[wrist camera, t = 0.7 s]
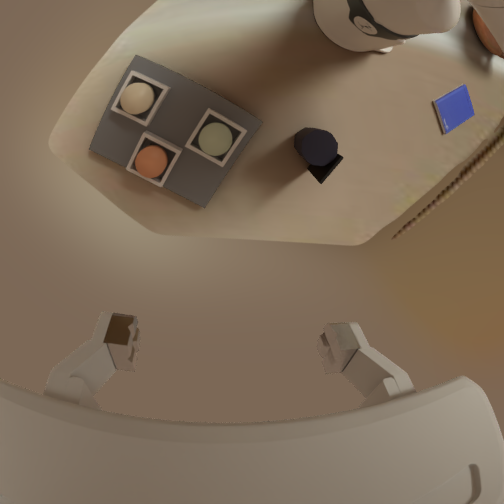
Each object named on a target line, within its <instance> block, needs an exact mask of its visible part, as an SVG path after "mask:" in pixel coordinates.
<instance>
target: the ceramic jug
mask: <svg viewBox="0 0 504 504" xmlns="http://www.w3.org/2000/svg"><path fill="white" fill-rule="evenodd" d="M473 23H474V27H475V30H476V32H477V34H478V36H479V38H480V40H481V42H482V43H483V45H484V46H485V47H486V48H487V49H488V50H489V51H490V52H491V53H493V54H495V55H498V56H499V57H501V58H503V59H504V52H503V51H502V50H501V48H500V46H499V45H498V43H497V41H496V40H495V38H494V36H493V35H492V33H491V32H490V30H489V29H488V27H487V26H486V24H485V23H484V21H483V20H482V18H481V17H480V16H479V14H478V13H477V12H476V10H475V9H474V10H473Z"/></svg>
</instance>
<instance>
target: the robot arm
mask: <svg viewBox="0 0 504 504" xmlns="http://www.w3.org/2000/svg"><path fill="white" fill-rule="evenodd" d="M468 1H469V2H470V4H471V5H472V6H473V8H474V9H475V10H476V12H477V13H478V14H479V16H480V17H481V18H482V20H483V21H484V23H485V24H486V26H487V27H488V29H489V30H490V32H491V33H492V35H493V36H494V38H495V40H496V41H497V43H498V45H499V46H500V48H501V50H502V51H503V52H504V0H468ZM313 7H314V16H315V19H316V21H317V24H318V25H319V27H320V29H321V30H322V31H323V33H324V34H325V35H326V36H327V37H328V38H329V39H330V40H332V41H333V42H334V43H336V44H337V45H339V46H341V47H343V48H345V49H348V50H351V51H357V52H365V51H371V50H375V51H378V52H382V53H388V52H390V51H391V50H392V48H393V46H397V45H401V44H404V43H405V40H406V39H409V38H413V37H416V36H418V35H419V34H430V33H443V32H447V31H449V30H451V29H452V28H453V27H455V26H456V24H457V23H458V21H459V19H460V14H461V6H460V0H313ZM137 324H138V320H137V317H136V316H132V315H125V314H118V313H110V312H104V311H103V312H102V313H101V314H100V317H99V319H98V322H97V325H96V328H95V331H94V334H93V336H92V339H91V341H89V340H88V341H86V342H85V343H84V344H83V345H81V346H80V347H79V348H77V349H76V350H75V351H74V352H73V353H71V354H70V355H69V356H67V357H66V358H65V359H64V360H63V361H61V362H60V363H59V364H58V365H56V366H55V367H54V368H53V369H51V372H50V375H49V378H48V381H47V384H46V387H45V390H44V393H43V394H39V393H37V392H34V391H31V390H28V389H26V388H23V387H20V386H18V385H15V384H13V383H10V382H8V381H6V380H3V379H1V378H0V504H504V440H503V437H502V434H501V430H500V427H499V425H498V422H497V419H496V417H495V414H494V412H493V409H492V407H491V405H490V403H489V400H488V398H487V396H486V394H485V393H484V391H483V390H482V388H481V387H480V386H478V385H477V384H476V383H474V382H473V381H471V380H470V379H469V378H467V377H465V376H459V377H456V378H454V379H452V380H449V381H447V382H444V383H442V384H439V385H436V386H433V387H431V388H428V389H425V390H422V391H419V392H416V391H415V389H414V386H413V384H412V382H411V380H410V378H409V376H408V374H407V373H406V372H405V371H403V370H402V369H401V368H400V367H398V366H397V365H396V364H394V363H393V362H392V361H390V360H389V359H387V358H386V357H385V356H383V355H382V354H381V353H380V352H378V351H377V350H375V349H374V348H372V347H371V348H370V346H369V344H368V342H367V340H366V338H365V336H364V334H363V332H362V330H361V328H360V326H359V324H358V323H357V322H348V323H345V322H344V323H328V324H326V325H325V327H324V333H323V334H322V335H320V337H319V339H318V344H317V348H318V352H319V355H320V356H321V357H323V358H324V359H323V361H322V364H323V367H324V370H325V373H326V374H329V373H330V374H331V373H342V374H343V375H344V376H345V377H346V378H347V379H348V380H349V381H350V382H351V383H352V384H353V385H354V386H355V387H356V388H357V389H358V390H359V391H360V392H361V393H362V394H363V396H364V397H365V398H366V399H365V400H364V401H363V402H362V403H361V404H360V406H359V407H360V408H358V409H353V410H348V411H343V412H338V413H333V414H326V415H320V416H313V417H306V418H297V419H289V420H277V421H263V422H243V423H207V422H185V421H171V420H161V419H152V418H144V417H136V416H130V415H123V414H118V413H112V412H107V411H102V410H101V407H100V406H99V404H98V403H97V401H96V400H95V398H94V397H93V396H94V395H95V394H96V393H97V391H98V390H99V389H100V388H101V387H102V386H103V385H104V383H106V381H107V380H108V379H109V378H110V377H111V376H112V375H113V373H114V372H115V371H116V369H117V370H125V371H135V368H136V363H137V356H136V352H138V351H139V346H140V331H139V329H138V328H137Z"/></svg>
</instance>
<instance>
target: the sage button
mask: <svg viewBox="0 0 504 504" xmlns="http://www.w3.org/2000/svg"><path fill="white" fill-rule="evenodd" d="M231 144H232V134H231V131H230V129H229V128H228V127H227V126H226V125H224V124H222V123H219V122H213V123H210V124H208V125H206V126H205V127H204V128H203V129H202V131H201V133H200V135H199V145H200V147H201V149H202V150H203V151H204V152H205V153H207V154H209V155H212V156H218V155H221V154H224V153H225V152H227V151H228V150H229V148H230V147H231Z"/></svg>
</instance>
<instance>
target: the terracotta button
mask: <svg viewBox="0 0 504 504" xmlns="http://www.w3.org/2000/svg"><path fill="white" fill-rule="evenodd" d="M167 163H168V156H167V153H166V151H165V150H164V149H163V148H162V147H160V146H158V145H149V146H147V147H145V148H144V149H142V150H141V151H140V152H139V153H138V155H137V157H136V160H135V166H136V169H137V171H138V172H139V173H140V174H141V175H142V176H144V177H146V178H154V177H157V176H159V175H160V174H161V173H162V172H163V171H164V169H165V168H166V166H167Z"/></svg>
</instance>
